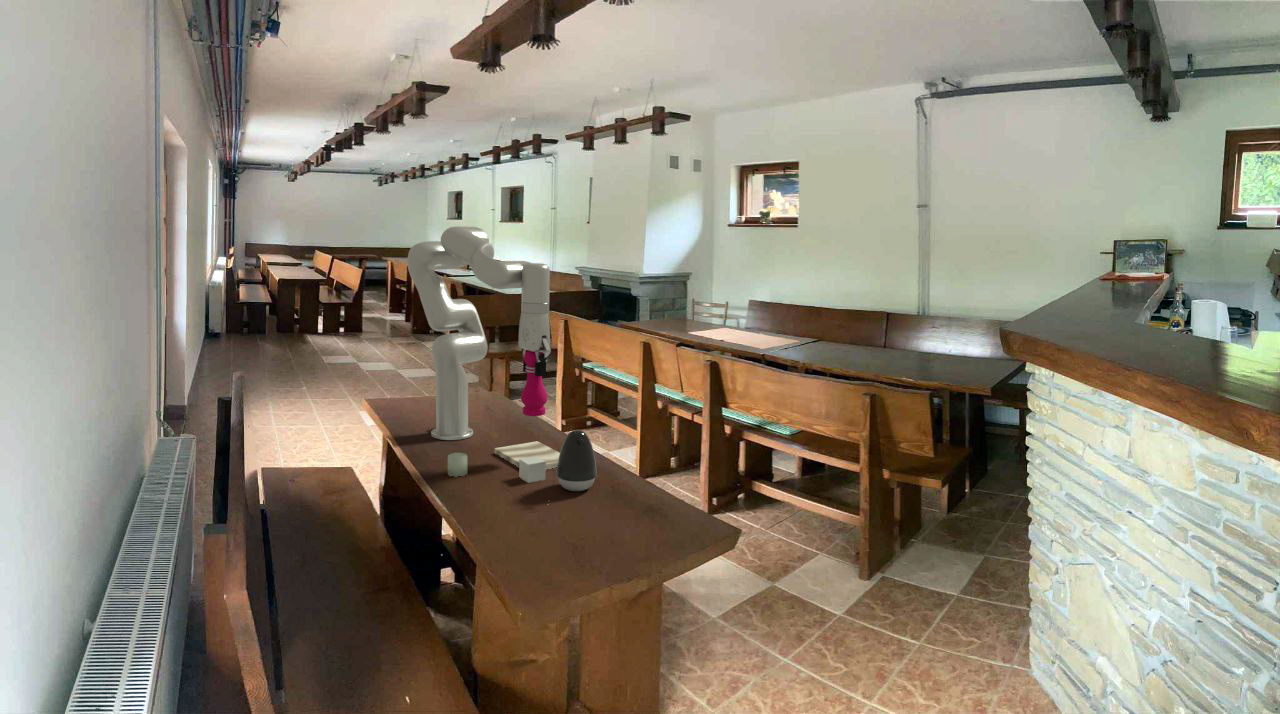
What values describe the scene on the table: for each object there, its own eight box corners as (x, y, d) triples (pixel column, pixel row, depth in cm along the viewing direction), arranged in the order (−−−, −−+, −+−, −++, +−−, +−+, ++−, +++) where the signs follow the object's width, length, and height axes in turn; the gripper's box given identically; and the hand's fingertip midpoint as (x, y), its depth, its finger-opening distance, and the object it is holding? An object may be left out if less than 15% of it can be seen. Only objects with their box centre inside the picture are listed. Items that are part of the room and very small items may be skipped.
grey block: (519, 477, 194) (519, 459, 193) (536, 474, 197) (536, 456, 196) (528, 483, 190) (528, 464, 189) (545, 479, 193) (545, 461, 192)
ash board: (494, 453, 213) (494, 448, 212) (537, 446, 221) (537, 441, 221) (528, 473, 197) (528, 467, 197) (572, 464, 205) (573, 459, 205)
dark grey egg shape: (559, 496, 181) (560, 436, 179) (553, 482, 191) (554, 425, 188) (600, 494, 184) (602, 435, 181) (591, 480, 194) (593, 424, 191)
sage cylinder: (444, 472, 195) (444, 454, 194) (462, 469, 198) (462, 451, 197) (452, 478, 191) (452, 459, 190) (470, 475, 194) (470, 456, 193)
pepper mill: (542, 417, 202) (543, 345, 199) (517, 415, 204) (517, 344, 200) (550, 411, 209) (551, 342, 206) (526, 409, 211) (527, 340, 207)
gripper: (508, 306, 206) (507, 369, 209) (538, 313, 192) (538, 380, 196) (532, 305, 210) (531, 367, 214) (563, 312, 197) (562, 378, 200)
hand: (534, 373), depth 205 cm, fingers closed on pepper mill, 5 cm apart
